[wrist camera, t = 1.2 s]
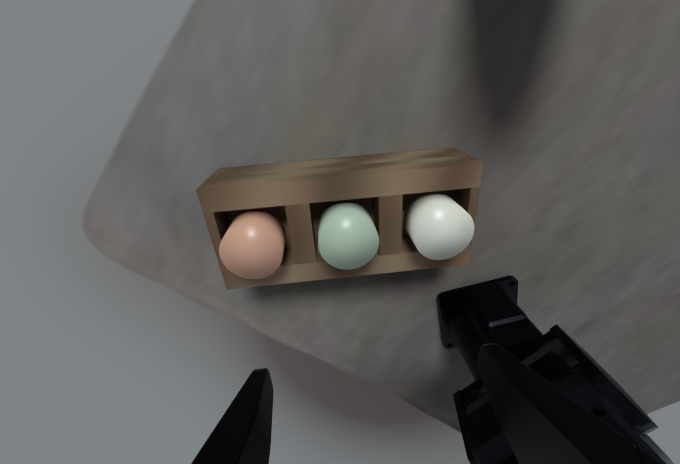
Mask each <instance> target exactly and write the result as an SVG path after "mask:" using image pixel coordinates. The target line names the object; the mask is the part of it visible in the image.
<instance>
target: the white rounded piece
mask: <svg viewBox="0 0 680 464" xmlns="http://www.w3.org/2000/svg"><path fill="white" fill-rule="evenodd" d="M404 226H405V229H406V231H407V233H408V234H409V236H410V238H411V239H412V241H413V243H414V244H415V246H416V248H417V249H418V251H419V252H420V253H421V254H422V255H423V256H425V257H427V258H429V259H433V260H444V259H449V258H451V257H454V256H456V255H457V254H459V253H460V252H462V251H463V250H464V249H465V248H466V247H467V246H468V244H469V243H470V241H471V239H472V237H473V234H474V222H473V219H472V217H471V216H470V215H469V213H468V212H466V211H465V210H464V209H463V208H462V207H461V206H460V205H458V204H457V203H456V202H455V201H454V200H453V199H452V198H451V197H449V196H448V195H446V194H444V193H441V192H428V193H425V194H422V195H420V196H419V197H417V198H416V199H414V200H413V201H412V202H411V203H410V205H409V206H408V207H407V209H406V212H405V215H404Z"/></svg>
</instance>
